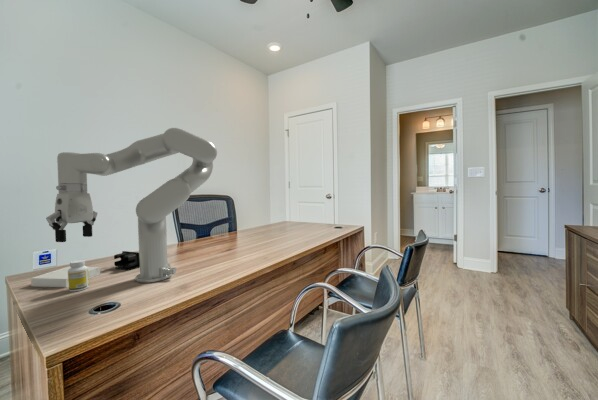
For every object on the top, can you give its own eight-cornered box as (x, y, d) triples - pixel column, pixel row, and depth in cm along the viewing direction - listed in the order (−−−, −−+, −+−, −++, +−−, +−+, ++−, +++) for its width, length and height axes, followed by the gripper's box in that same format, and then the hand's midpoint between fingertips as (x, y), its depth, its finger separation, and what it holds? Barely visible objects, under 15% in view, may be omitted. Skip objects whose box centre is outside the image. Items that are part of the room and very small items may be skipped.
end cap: (145, 266, 119) (144, 251, 118) (130, 270, 112) (129, 255, 112) (129, 264, 122) (128, 249, 122) (113, 268, 116) (113, 253, 115)
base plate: (100, 274, 108) (99, 267, 108) (66, 287, 94) (66, 279, 94) (69, 273, 109) (68, 266, 109) (31, 286, 95) (31, 278, 95)
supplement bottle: (76, 286, 95) (75, 259, 94) (92, 285, 95) (91, 258, 95) (64, 292, 89) (63, 263, 89) (81, 291, 90) (80, 263, 89)
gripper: (57, 189, 81) (59, 244, 82) (104, 189, 99) (105, 235, 99) (35, 189, 82) (38, 244, 83) (86, 189, 99) (87, 234, 100)
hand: (75, 239), depth 91 cm, fingers open, 9 cm apart
